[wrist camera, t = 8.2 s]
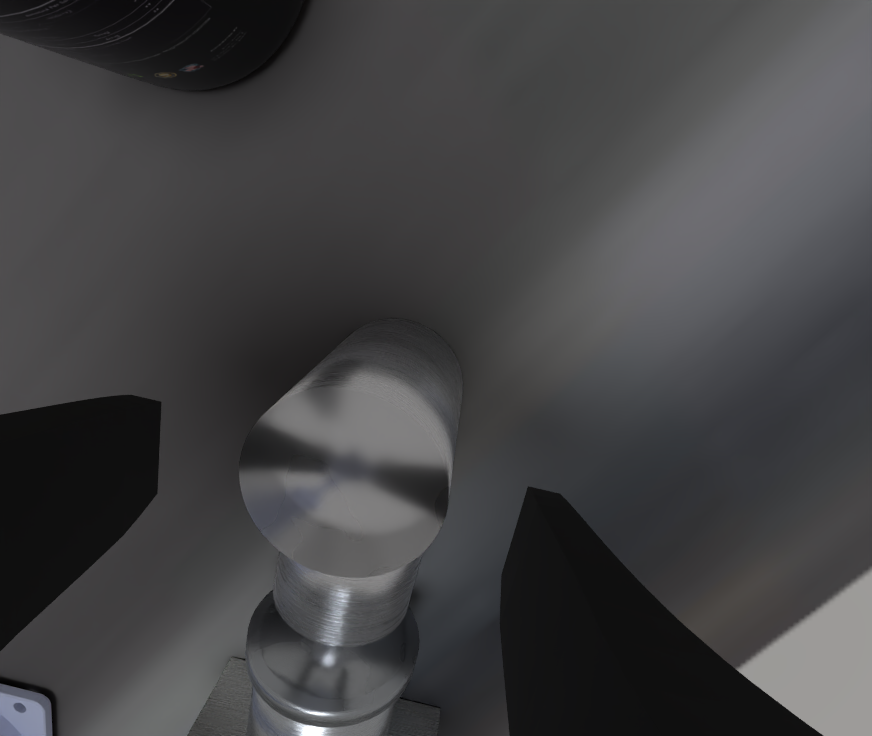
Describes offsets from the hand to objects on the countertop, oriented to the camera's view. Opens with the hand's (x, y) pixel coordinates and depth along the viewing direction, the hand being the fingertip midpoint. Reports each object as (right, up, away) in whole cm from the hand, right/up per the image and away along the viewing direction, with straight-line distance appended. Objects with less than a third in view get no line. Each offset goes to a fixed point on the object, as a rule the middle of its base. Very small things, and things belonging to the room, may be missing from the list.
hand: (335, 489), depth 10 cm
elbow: (0, 0, +6) cm, 6 cm away
